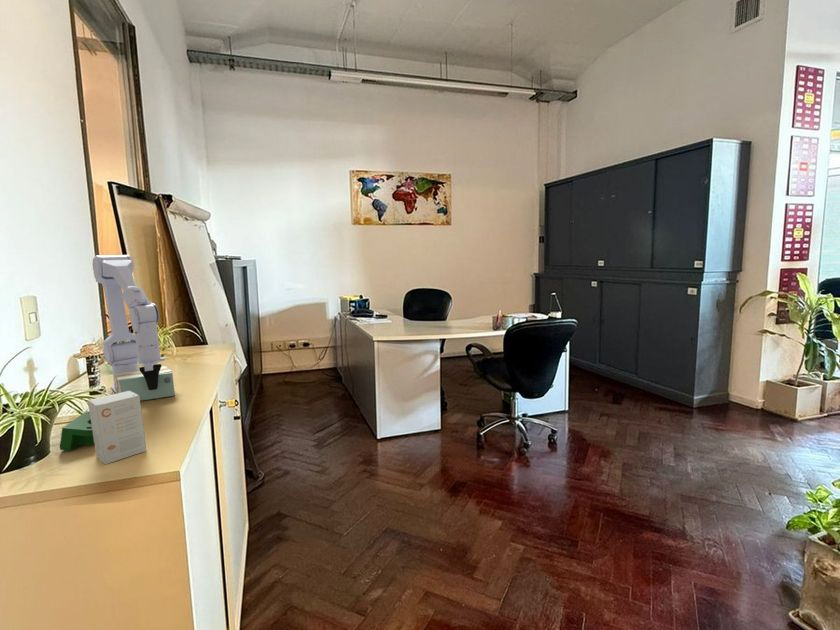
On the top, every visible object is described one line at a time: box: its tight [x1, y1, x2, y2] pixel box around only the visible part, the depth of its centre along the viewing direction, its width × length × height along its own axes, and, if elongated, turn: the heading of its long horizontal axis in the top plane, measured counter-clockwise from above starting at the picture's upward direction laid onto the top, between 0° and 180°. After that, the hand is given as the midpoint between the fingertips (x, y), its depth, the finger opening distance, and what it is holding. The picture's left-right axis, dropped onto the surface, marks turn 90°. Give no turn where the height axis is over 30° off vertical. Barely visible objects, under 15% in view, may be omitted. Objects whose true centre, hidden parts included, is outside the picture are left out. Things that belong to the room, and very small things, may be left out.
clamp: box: [59, 410, 95, 451], centre depth 105 cm, size 12×6×9 cm, turn 9°
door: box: [120, 371, 176, 402], centre depth 134 cm, size 2×14×7 cm, turn 117°
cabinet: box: [114, 365, 173, 394], centre depth 140 cm, size 10×14×7 cm
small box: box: [87, 391, 147, 465], centre depth 97 cm, size 8×6×13 cm
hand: (153, 389), depth 134 cm, fingers closed
